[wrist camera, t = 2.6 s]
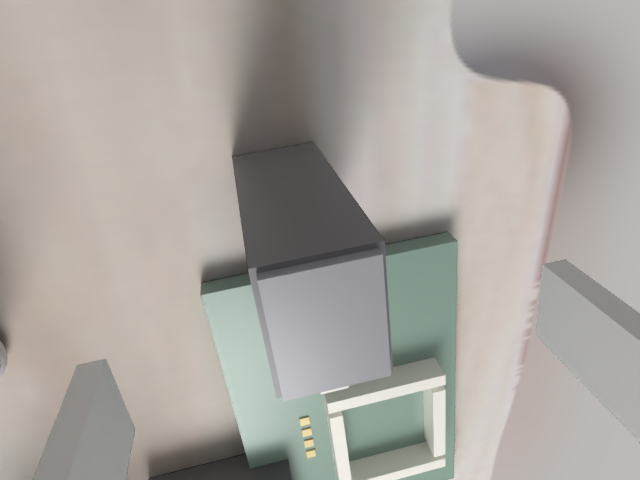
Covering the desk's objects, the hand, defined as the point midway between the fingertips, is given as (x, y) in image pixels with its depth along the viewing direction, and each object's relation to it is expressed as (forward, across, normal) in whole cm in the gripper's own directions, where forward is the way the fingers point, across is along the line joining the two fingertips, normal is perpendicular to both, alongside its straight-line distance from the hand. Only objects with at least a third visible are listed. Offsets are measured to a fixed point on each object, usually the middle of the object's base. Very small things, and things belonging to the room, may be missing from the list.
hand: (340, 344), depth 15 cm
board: (+12, +2, -14) cm, 18 cm away
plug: (+12, 0, 0) cm, 12 cm away
